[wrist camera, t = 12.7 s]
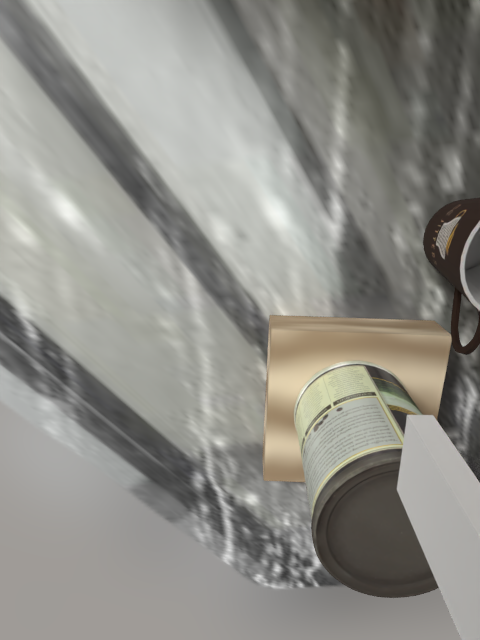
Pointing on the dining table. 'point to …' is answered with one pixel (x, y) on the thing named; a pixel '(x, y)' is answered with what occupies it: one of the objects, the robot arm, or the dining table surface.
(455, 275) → the coffee mug
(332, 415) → the coffee can
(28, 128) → the dining table surface
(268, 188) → the dining table surface
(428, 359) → the oak riser
